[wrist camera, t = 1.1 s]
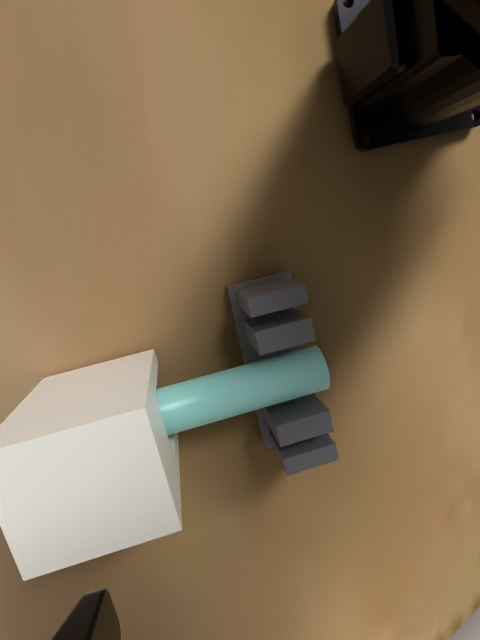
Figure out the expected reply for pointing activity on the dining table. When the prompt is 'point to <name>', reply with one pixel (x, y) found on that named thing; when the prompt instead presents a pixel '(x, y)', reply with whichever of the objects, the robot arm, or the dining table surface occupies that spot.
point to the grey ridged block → (272, 340)
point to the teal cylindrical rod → (242, 389)
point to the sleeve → (88, 466)
